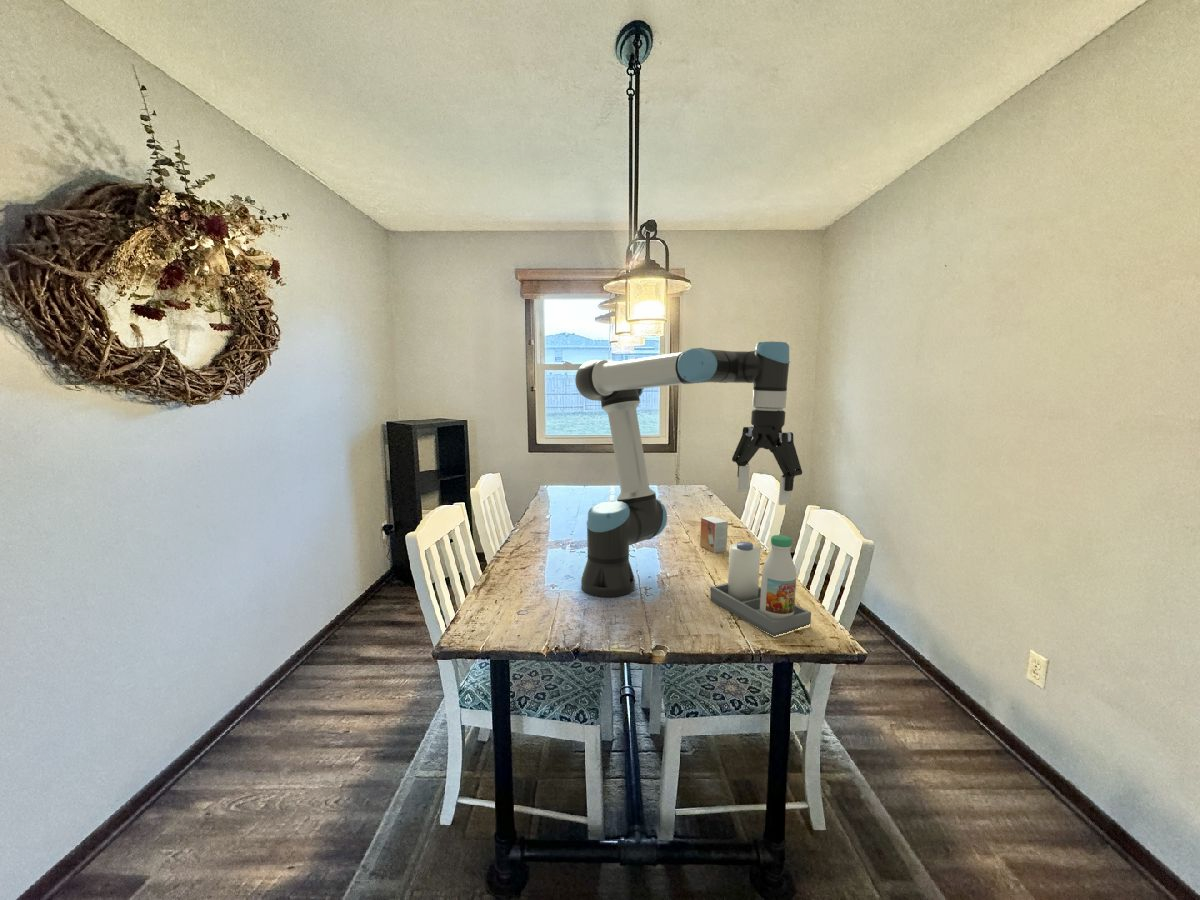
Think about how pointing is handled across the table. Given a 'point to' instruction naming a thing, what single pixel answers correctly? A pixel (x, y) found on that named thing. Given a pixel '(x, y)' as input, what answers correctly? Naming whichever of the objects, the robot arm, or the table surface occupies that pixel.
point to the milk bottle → (778, 580)
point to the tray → (752, 612)
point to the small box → (713, 534)
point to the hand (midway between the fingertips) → (762, 497)
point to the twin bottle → (743, 571)
